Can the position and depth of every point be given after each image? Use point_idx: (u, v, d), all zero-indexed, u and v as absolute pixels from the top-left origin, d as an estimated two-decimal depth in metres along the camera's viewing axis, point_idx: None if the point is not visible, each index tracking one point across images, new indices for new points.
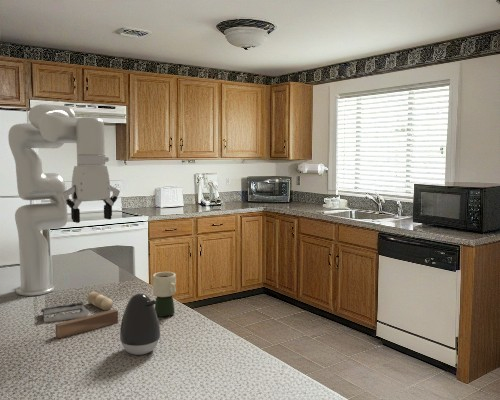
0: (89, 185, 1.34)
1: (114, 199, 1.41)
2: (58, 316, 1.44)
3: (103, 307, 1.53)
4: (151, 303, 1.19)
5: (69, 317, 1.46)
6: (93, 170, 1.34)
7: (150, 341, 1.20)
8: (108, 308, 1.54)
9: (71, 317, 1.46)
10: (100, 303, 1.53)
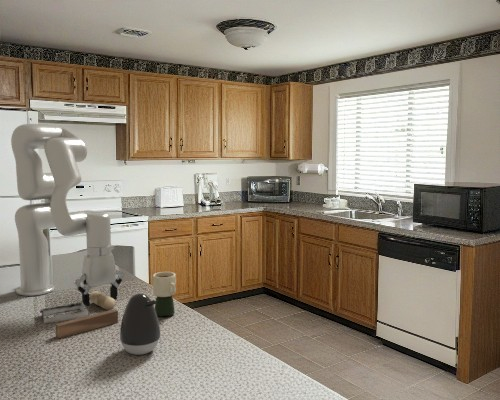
0: (97, 273, 1.53)
1: (119, 281, 1.61)
2: (58, 316, 1.43)
3: (105, 304, 1.53)
4: (151, 303, 1.19)
5: (69, 317, 1.45)
6: (100, 260, 1.53)
7: (150, 341, 1.20)
8: (109, 308, 1.54)
9: (71, 317, 1.45)
10: (103, 299, 1.54)
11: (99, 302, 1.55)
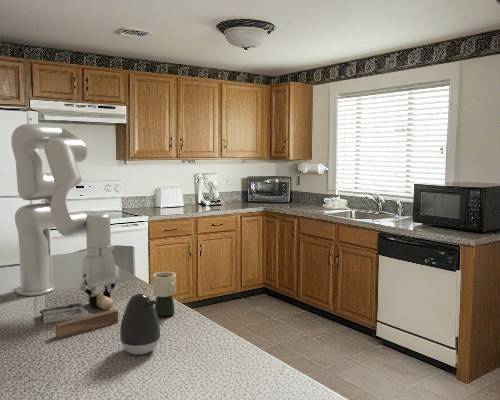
0: (97, 273, 1.53)
1: (112, 286, 1.59)
2: (58, 317, 1.43)
3: (103, 306, 1.53)
4: (151, 303, 1.19)
5: (69, 318, 1.45)
6: (100, 260, 1.53)
7: (150, 341, 1.20)
8: (108, 308, 1.54)
9: (71, 318, 1.45)
10: (100, 302, 1.53)
11: (97, 305, 1.55)
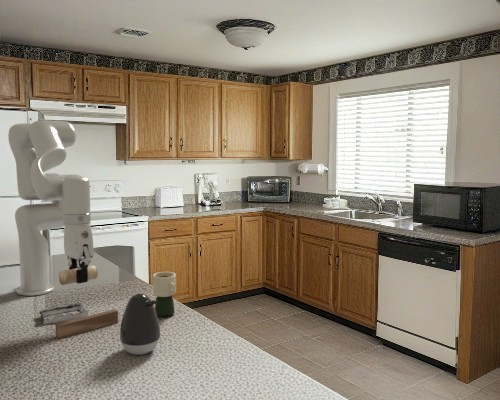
0: (66, 242, 1.38)
1: (81, 264, 1.36)
2: (58, 318, 1.43)
3: (59, 279, 1.37)
4: (151, 303, 1.19)
5: (69, 318, 1.44)
6: (67, 228, 1.37)
7: (150, 341, 1.20)
8: (62, 283, 1.36)
9: (71, 318, 1.45)
10: None
11: None
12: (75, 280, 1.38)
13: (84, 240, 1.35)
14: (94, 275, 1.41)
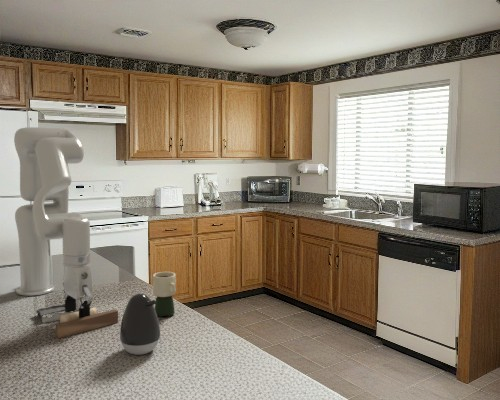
0: (66, 281, 1.40)
1: (84, 303, 1.36)
2: (57, 316, 1.44)
3: (60, 322, 1.39)
4: (151, 303, 1.19)
5: None
6: (67, 268, 1.39)
7: (150, 341, 1.20)
8: None
9: None
10: None
11: None
12: None
13: (83, 281, 1.37)
14: None
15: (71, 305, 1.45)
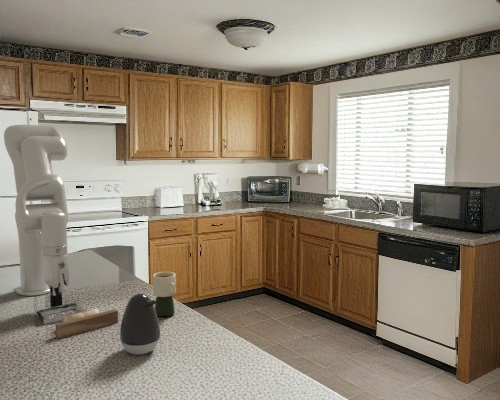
0: (45, 271, 1.51)
1: (56, 291, 1.50)
2: (58, 317, 1.43)
3: (62, 320, 1.38)
4: (151, 303, 1.19)
5: None
6: (45, 259, 1.50)
7: (150, 341, 1.20)
8: None
9: None
10: None
11: None
12: None
13: (61, 270, 1.48)
14: None
15: None
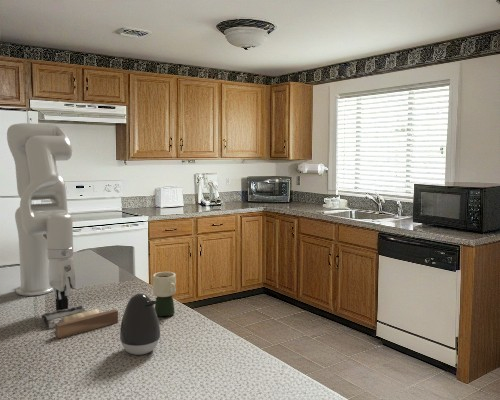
0: (50, 274, 1.48)
1: (62, 294, 1.47)
2: None
3: (63, 320, 1.38)
4: (151, 303, 1.19)
5: None
6: (51, 261, 1.47)
7: (150, 341, 1.20)
8: None
9: None
10: None
11: None
12: None
13: (67, 273, 1.45)
14: None
15: None
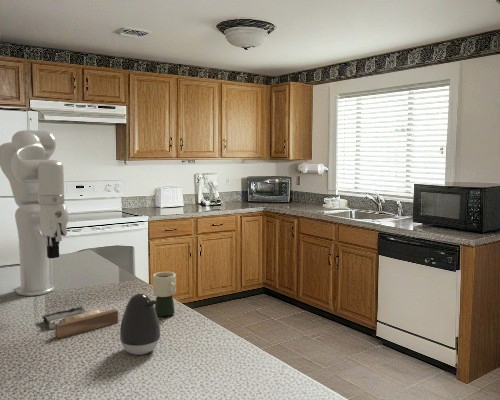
0: (42, 221, 1.50)
1: (53, 241, 1.49)
2: None
3: (64, 319, 1.37)
4: (151, 303, 1.19)
5: None
6: (42, 208, 1.49)
7: (150, 341, 1.20)
8: None
9: None
10: (70, 316, 1.37)
11: None
12: None
13: (57, 219, 1.47)
14: None
15: None
